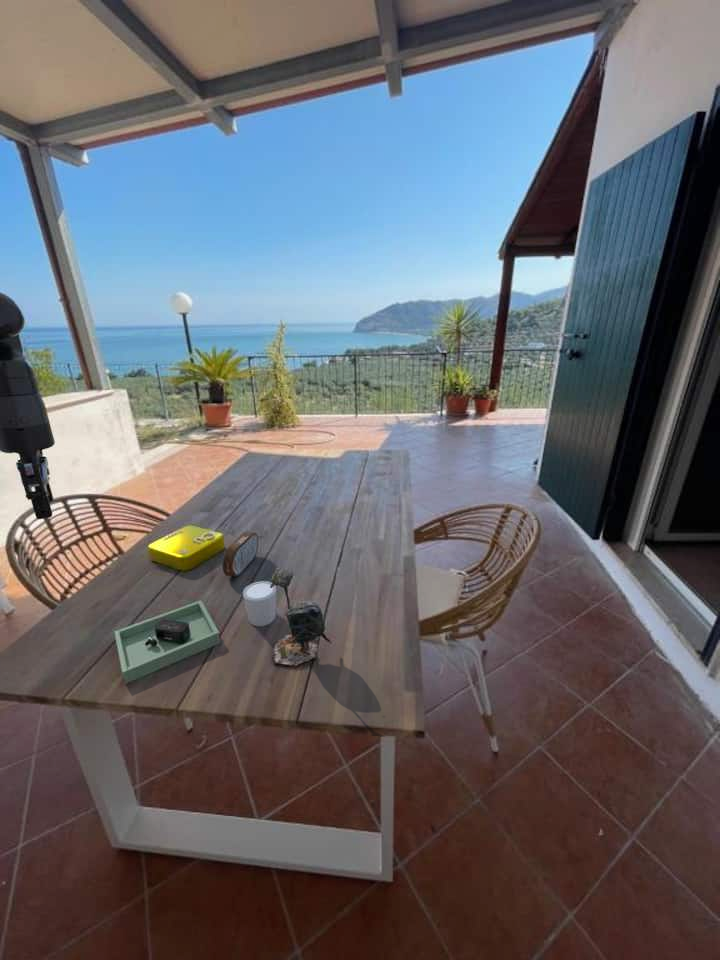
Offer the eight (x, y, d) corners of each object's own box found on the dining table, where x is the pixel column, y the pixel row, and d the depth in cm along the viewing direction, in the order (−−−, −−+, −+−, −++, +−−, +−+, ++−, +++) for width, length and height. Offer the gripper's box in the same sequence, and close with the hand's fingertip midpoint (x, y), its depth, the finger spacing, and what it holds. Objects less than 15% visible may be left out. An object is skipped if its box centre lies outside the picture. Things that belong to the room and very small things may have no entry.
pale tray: (125, 684, 68) (122, 672, 67) (117, 641, 77) (114, 631, 76) (220, 643, 77) (219, 632, 76) (202, 609, 87) (201, 600, 86)
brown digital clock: (251, 552, 110) (248, 525, 107) (261, 553, 110) (258, 526, 107) (223, 582, 96) (219, 552, 94) (234, 583, 96) (231, 553, 93)
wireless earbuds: (161, 631, 79) (158, 618, 78) (192, 636, 78) (190, 623, 77) (145, 647, 75) (141, 634, 74) (177, 653, 74) (174, 639, 72)
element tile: (191, 536, 119) (188, 522, 117) (228, 547, 113) (226, 532, 111) (147, 559, 106) (143, 544, 105) (185, 573, 100) (183, 557, 99)
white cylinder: (239, 623, 82) (235, 595, 80) (258, 604, 88) (255, 577, 86) (266, 631, 80) (263, 603, 78) (284, 611, 86) (282, 584, 84)
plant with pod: (324, 673, 70) (320, 578, 63) (265, 664, 72) (254, 571, 65) (334, 641, 77) (332, 553, 71) (281, 634, 79) (273, 547, 73)
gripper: (-4, 417, 69) (22, 501, 74) (-16, 431, 58) (15, 529, 63) (49, 413, 73) (70, 493, 78) (47, 425, 62) (71, 518, 67)
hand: (45, 509), depth 71 cm, fingers open, 8 cm apart
